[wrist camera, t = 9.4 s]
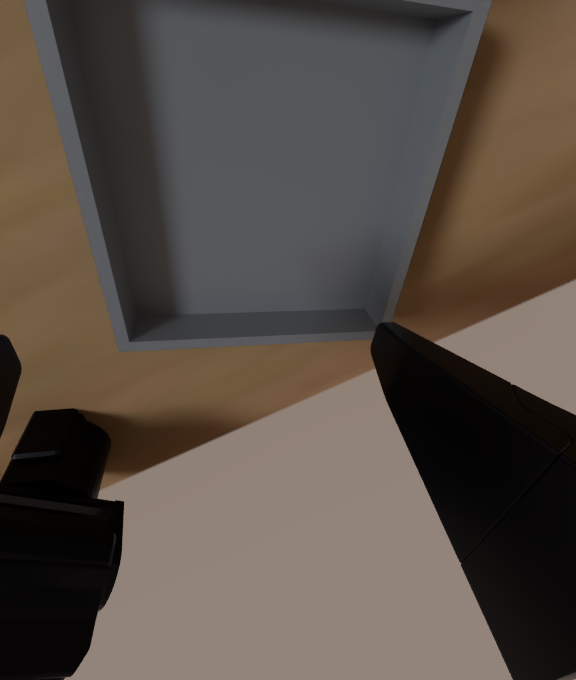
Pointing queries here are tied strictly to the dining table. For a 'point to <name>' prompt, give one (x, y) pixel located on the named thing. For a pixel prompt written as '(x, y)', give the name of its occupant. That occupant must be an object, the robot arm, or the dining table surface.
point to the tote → (253, 156)
